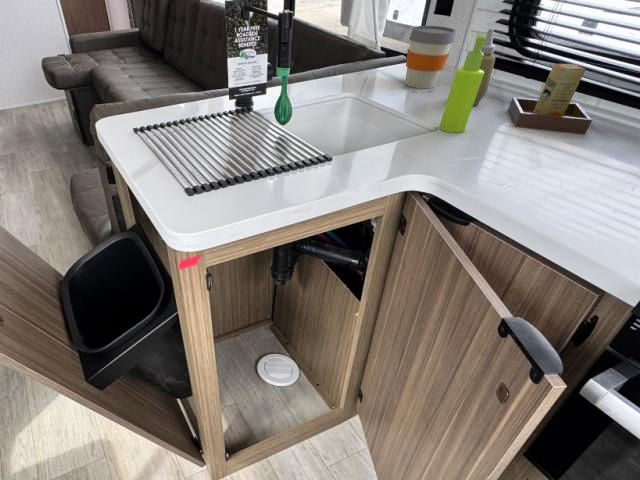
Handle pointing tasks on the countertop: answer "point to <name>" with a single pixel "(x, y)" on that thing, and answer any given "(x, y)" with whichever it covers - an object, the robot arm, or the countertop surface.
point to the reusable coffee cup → (427, 54)
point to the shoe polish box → (559, 89)
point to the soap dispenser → (464, 90)
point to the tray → (548, 117)
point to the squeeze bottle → (486, 65)
